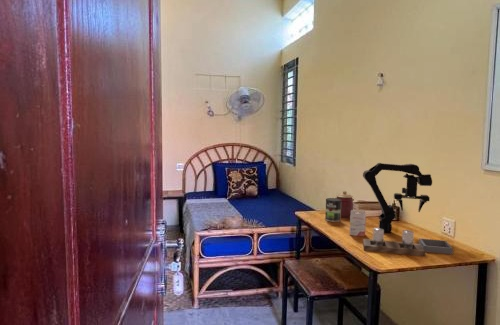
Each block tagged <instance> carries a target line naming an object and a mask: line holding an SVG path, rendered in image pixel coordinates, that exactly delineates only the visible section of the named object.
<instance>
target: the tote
mask: <svg viewBox="0 0 500 325" xmlns="http://www.w3.org/2000/svg"><path fill="white" fill-rule="evenodd" d="M418 244H421V246H422V247H423V249H424V251H425V253H433V254H436V253H437V254H443V255H453V254H454V248H453V247H452V246H451V245H450V243H449V242H448V241H447V240H443V239H430V238H429V239H428V238H418Z"/></svg>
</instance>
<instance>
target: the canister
mask: <svg viewBox="0 0 500 325" xmlns="http://www.w3.org/2000/svg"><path fill="white" fill-rule="evenodd" d="M335 198H337V199H341V200H342V201H341V218H350V215H351V210H354V201H355V200H354V196H353V195H352V194H351V193H347V191H346V190H343V191H342V192H341V193H337V194H336V197H335Z"/></svg>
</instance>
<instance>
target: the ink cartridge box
mask: <svg viewBox="0 0 500 325" xmlns="http://www.w3.org/2000/svg"><path fill="white" fill-rule="evenodd" d="M366 218H367V217H366V211H365V210H355V209H353V210H351V215H350V217H349V236H356V237H365V236H366Z"/></svg>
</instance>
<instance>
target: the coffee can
mask: <svg viewBox="0 0 500 325" xmlns="http://www.w3.org/2000/svg"><path fill="white" fill-rule="evenodd" d="M341 201H342V200H341V199H337V198H336V197H335V198H334V197H326V198H325V215H324V216H325V217H324V220H325V221H327V222H331V223H332V222H337V223H338V222H340V221H341V218H342V217H341Z"/></svg>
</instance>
